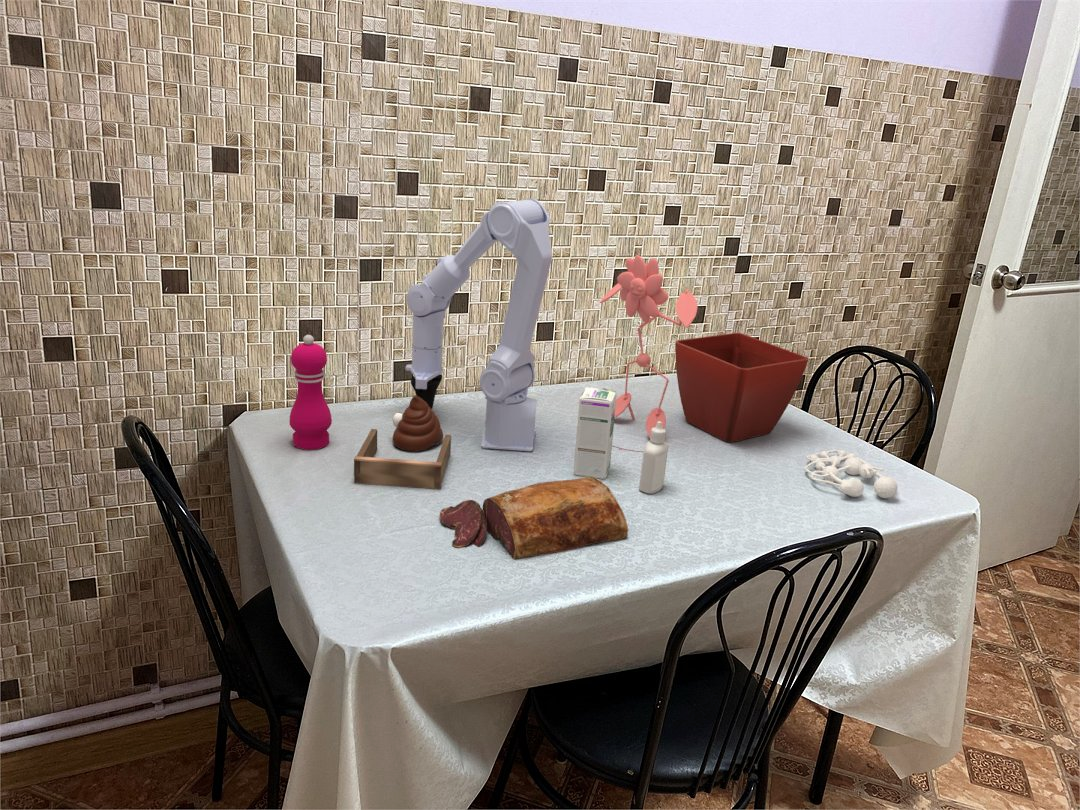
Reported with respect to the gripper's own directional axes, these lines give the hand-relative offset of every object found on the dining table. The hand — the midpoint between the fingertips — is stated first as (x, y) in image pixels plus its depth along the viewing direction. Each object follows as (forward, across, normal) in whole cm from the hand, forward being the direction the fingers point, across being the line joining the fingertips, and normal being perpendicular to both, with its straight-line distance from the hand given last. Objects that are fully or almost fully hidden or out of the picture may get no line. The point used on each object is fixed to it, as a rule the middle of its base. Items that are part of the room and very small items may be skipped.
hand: (425, 411), depth 165 cm
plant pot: (+2, -7, +61) cm, 61 cm away
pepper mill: (+1, +16, -18) cm, 24 cm away
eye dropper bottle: (+1, +24, +42) cm, 48 cm away
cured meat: (+2, +41, +21) cm, 46 cm away
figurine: (+1, 0, +39) cm, 39 cm away
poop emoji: (+2, +12, 0) cm, 12 cm away
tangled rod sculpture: (+2, +15, +78) cm, 79 cm away
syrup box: (+1, +19, +32) cm, 37 cm away
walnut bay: (+1, +23, 0) cm, 23 cm away
